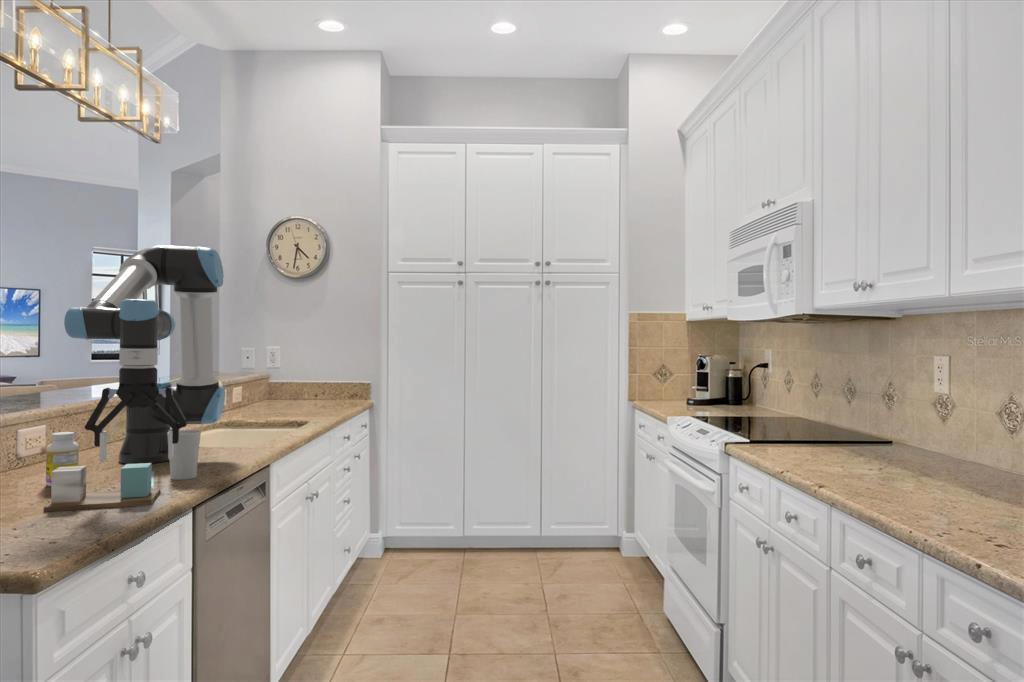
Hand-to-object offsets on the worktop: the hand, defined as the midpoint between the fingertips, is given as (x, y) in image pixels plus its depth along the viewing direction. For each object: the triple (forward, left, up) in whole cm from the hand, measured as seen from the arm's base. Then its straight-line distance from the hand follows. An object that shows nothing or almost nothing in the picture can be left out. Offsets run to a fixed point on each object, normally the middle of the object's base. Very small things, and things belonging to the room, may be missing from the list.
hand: (137, 459), depth 144 cm
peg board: (0, -6, -9) cm, 11 cm away
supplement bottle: (-22, -20, -9) cm, 31 cm away
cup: (-23, +7, -9) cm, 25 cm away
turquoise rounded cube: (+1, 0, -8) cm, 8 cm away
